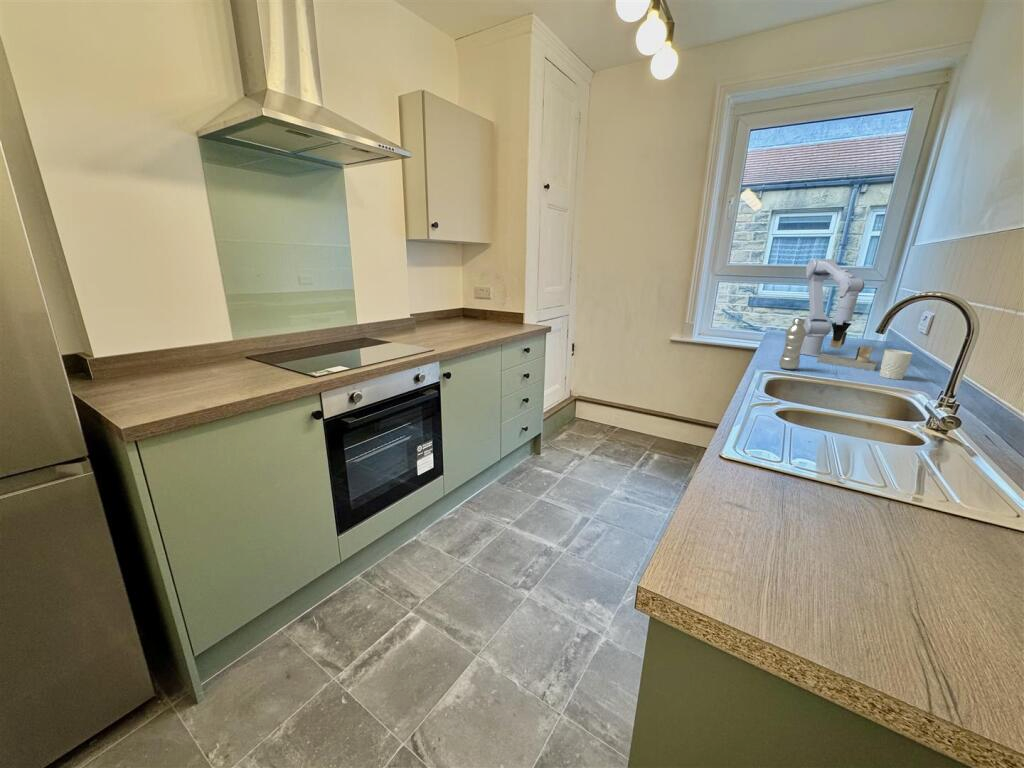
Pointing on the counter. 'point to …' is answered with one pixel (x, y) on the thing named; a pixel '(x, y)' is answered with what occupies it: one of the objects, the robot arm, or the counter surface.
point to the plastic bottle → (793, 344)
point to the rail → (846, 362)
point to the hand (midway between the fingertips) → (837, 340)
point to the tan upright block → (863, 354)
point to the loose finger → (838, 343)
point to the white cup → (895, 363)
